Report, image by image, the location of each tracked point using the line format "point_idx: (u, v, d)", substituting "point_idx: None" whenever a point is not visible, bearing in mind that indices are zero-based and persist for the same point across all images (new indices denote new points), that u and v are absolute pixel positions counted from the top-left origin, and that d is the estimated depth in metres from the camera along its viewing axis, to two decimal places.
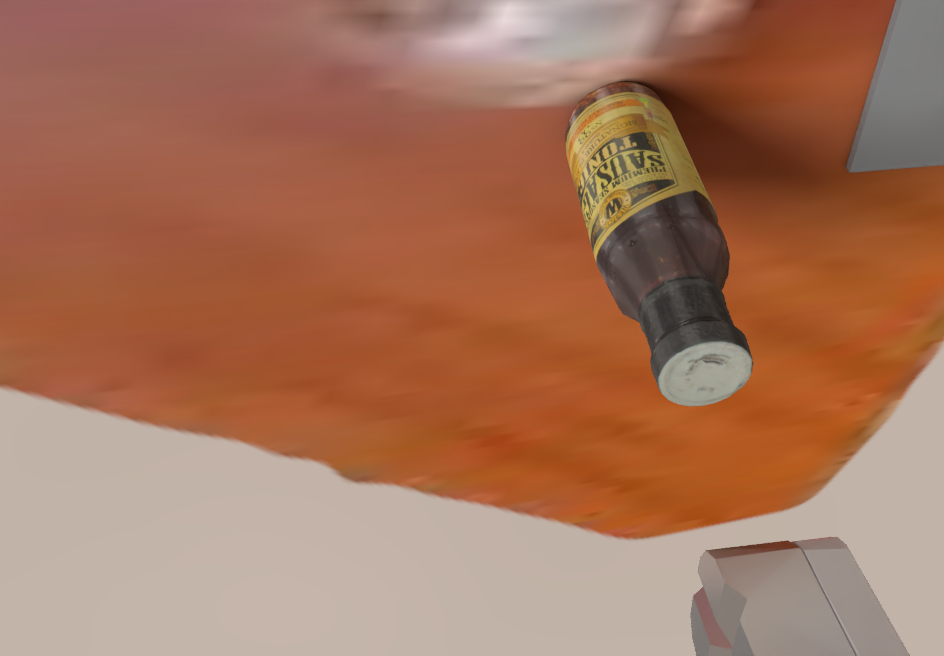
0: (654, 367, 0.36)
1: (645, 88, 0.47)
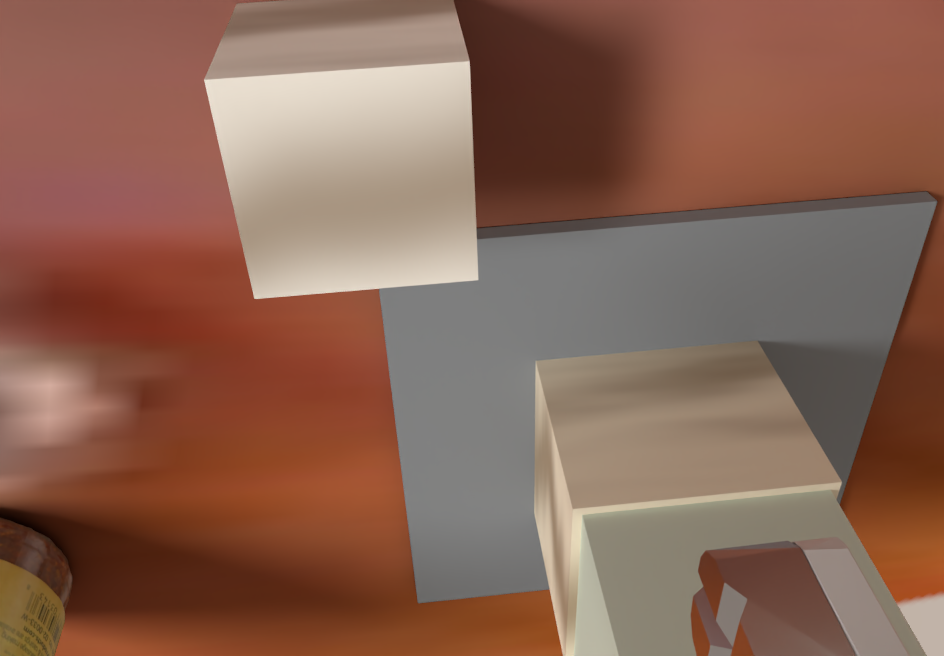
0: None
1: None
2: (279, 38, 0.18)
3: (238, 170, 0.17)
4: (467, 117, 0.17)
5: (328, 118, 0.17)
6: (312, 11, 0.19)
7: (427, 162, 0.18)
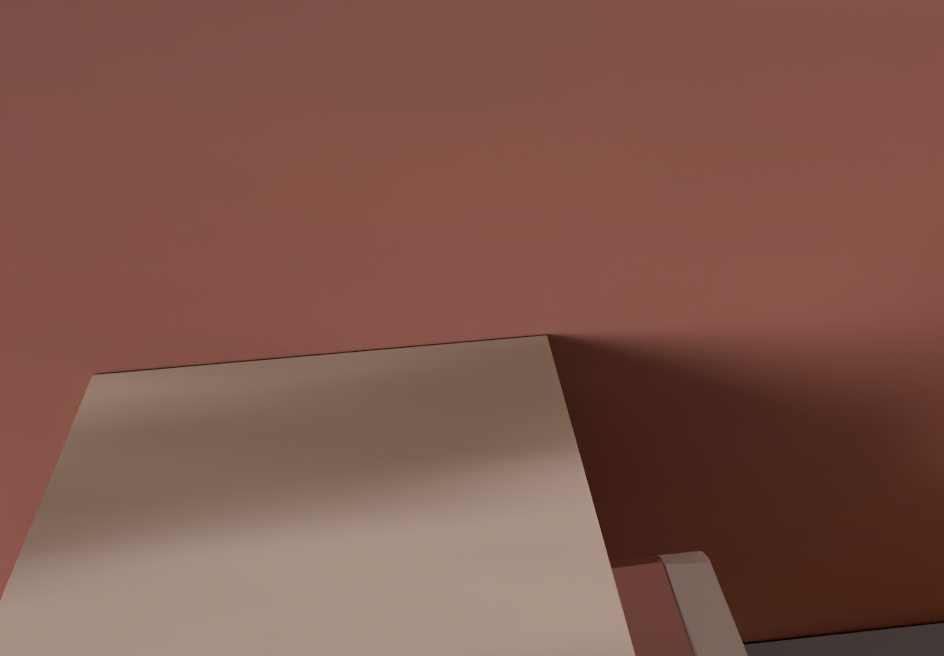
0: None
1: None
2: (152, 578, 0.07)
3: None
4: None
5: None
6: (248, 429, 0.09)
7: None
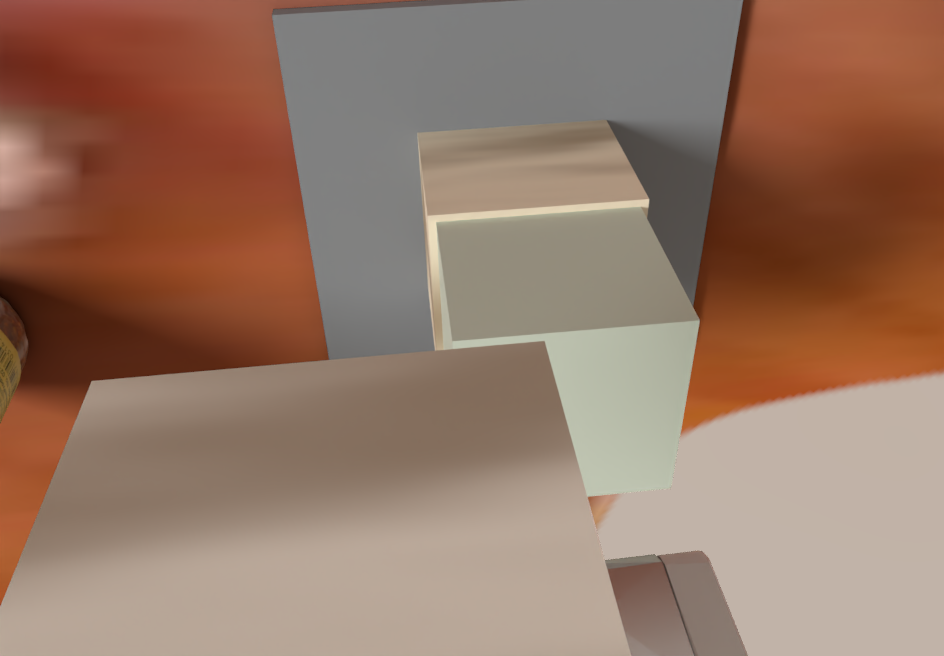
0: None
1: None
2: (152, 584, 0.07)
3: None
4: None
5: None
6: (245, 437, 0.09)
7: None
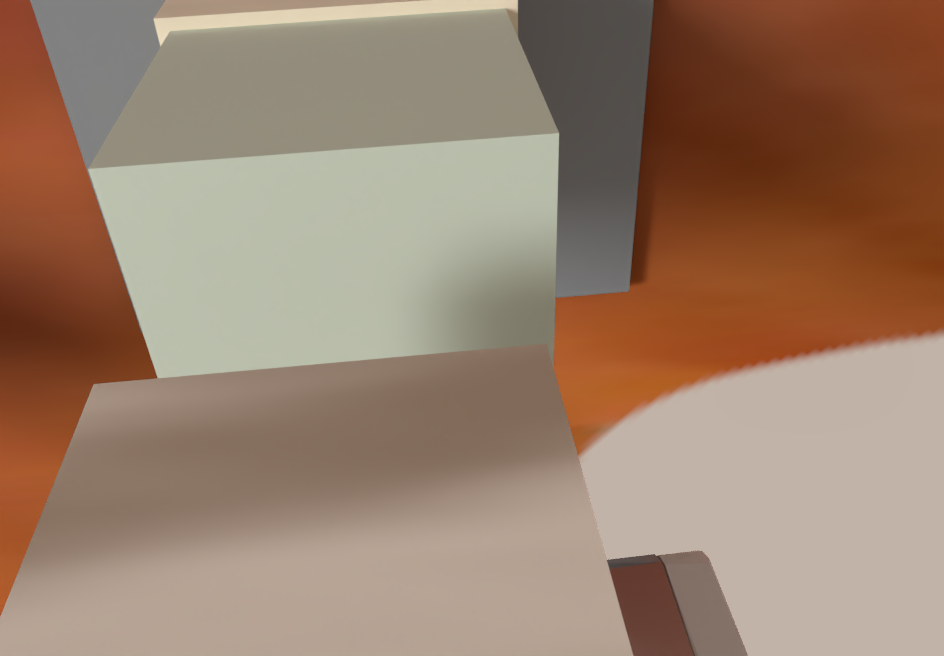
0: None
1: None
2: (155, 588, 0.07)
3: None
4: None
5: None
6: (249, 439, 0.09)
7: None
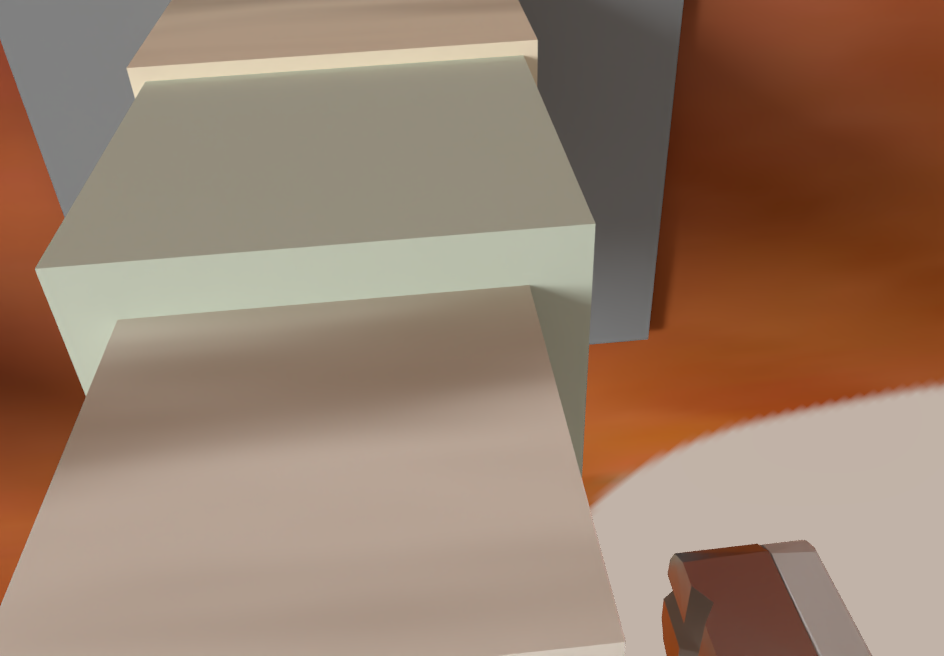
0: None
1: None
2: (175, 483, 0.08)
3: None
4: None
5: None
6: (259, 364, 0.10)
7: None
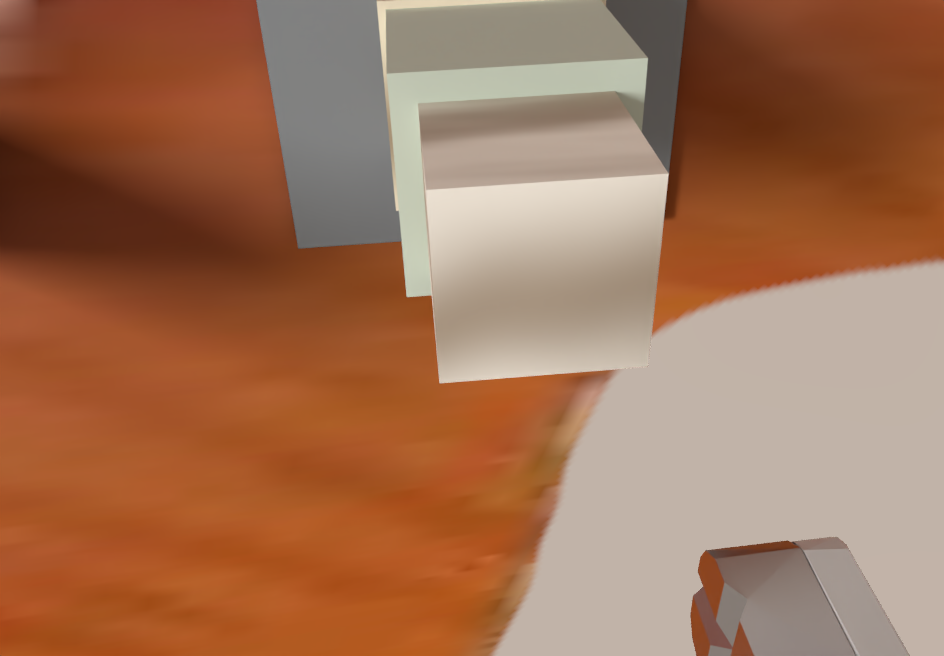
0: None
1: None
2: (476, 144, 0.19)
3: (444, 269, 0.19)
4: (659, 222, 0.18)
5: (533, 223, 0.18)
6: (494, 115, 0.21)
7: (617, 261, 0.19)
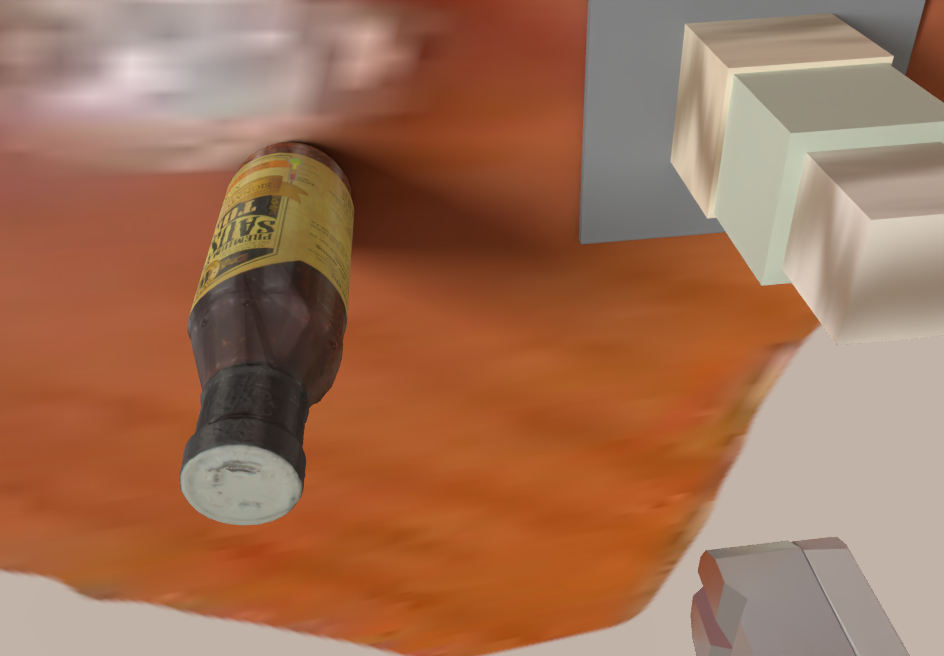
0: None
1: (311, 149, 0.42)
2: (875, 185, 0.29)
3: (865, 269, 0.28)
4: None
5: (930, 239, 0.28)
6: (869, 162, 0.30)
7: None
